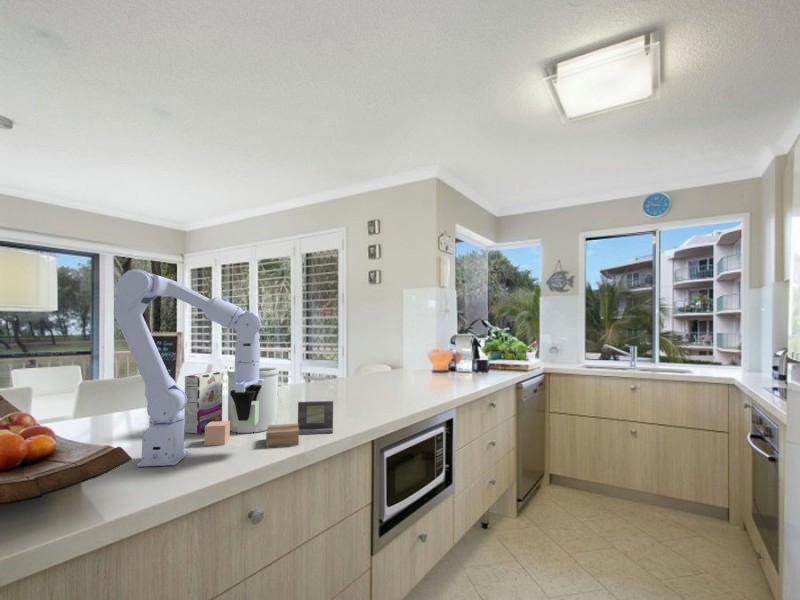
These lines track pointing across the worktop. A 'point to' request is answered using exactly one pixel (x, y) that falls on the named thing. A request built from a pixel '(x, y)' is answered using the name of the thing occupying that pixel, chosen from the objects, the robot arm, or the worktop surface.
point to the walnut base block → (282, 435)
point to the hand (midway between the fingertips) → (245, 417)
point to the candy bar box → (202, 400)
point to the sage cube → (252, 417)
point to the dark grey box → (315, 417)
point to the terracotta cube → (217, 433)
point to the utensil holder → (265, 398)
